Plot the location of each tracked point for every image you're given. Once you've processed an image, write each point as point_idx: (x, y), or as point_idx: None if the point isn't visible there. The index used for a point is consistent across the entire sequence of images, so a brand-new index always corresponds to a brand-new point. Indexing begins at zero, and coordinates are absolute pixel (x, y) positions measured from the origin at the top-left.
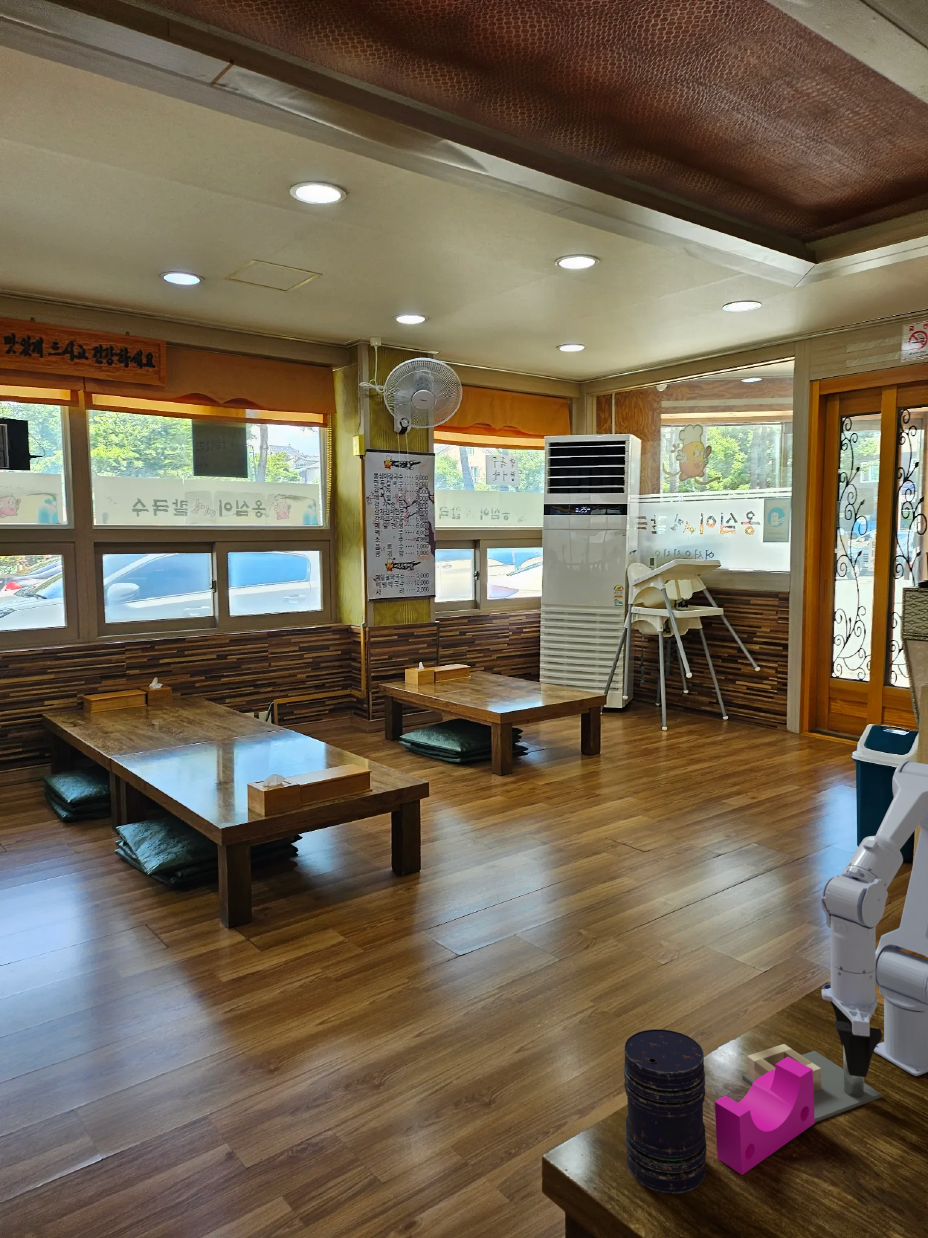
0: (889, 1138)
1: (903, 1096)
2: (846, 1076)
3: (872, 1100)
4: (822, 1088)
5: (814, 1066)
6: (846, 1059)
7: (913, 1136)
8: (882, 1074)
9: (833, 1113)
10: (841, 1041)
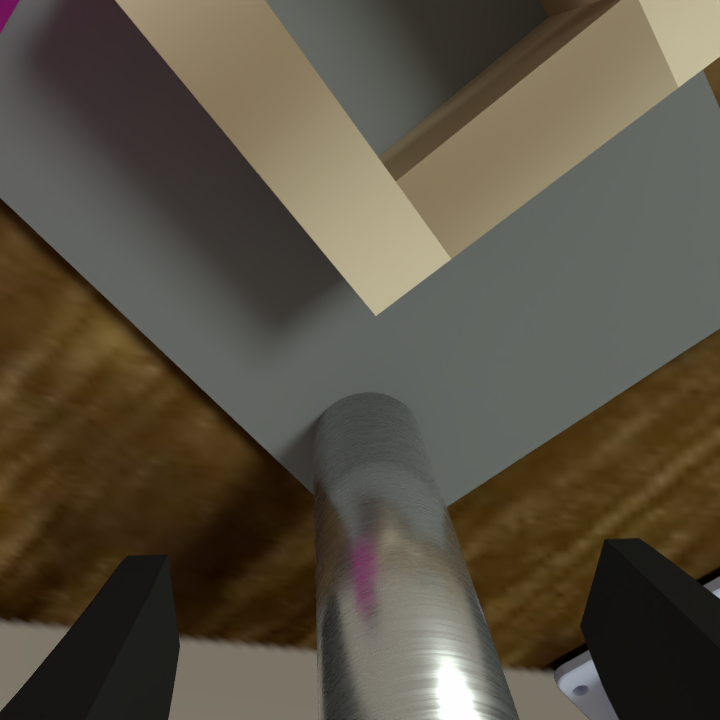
0: (31, 533)
1: None
2: (341, 468)
3: None
4: None
5: (394, 268)
6: (30, 678)
7: None
8: (571, 563)
9: (119, 307)
10: (620, 559)
